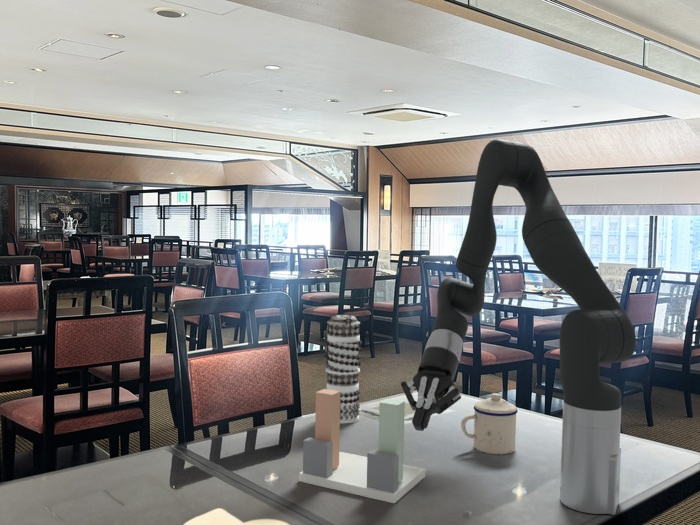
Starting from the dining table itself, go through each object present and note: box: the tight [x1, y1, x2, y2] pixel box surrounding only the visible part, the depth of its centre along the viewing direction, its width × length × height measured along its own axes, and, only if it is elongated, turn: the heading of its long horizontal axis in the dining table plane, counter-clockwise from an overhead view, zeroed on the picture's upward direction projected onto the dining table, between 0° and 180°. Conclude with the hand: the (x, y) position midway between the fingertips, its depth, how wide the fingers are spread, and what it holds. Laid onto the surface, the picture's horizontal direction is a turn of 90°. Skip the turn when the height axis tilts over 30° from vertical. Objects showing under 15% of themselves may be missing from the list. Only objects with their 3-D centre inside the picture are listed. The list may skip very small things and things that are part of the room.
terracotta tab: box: [314, 388, 341, 470], centre depth 122 cm, size 4×3×14 cm
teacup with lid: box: [460, 393, 518, 455], centre depth 139 cm, size 12×9×12 cm
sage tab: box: [377, 398, 406, 483], centre depth 116 cm, size 4×3×14 cm
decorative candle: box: [323, 314, 363, 424], centre depth 159 cm, size 9×9×25 cm
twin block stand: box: [298, 436, 426, 504], centre depth 121 cm, size 19×14×8 cm
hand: (418, 428), depth 127 cm, fingers closed
